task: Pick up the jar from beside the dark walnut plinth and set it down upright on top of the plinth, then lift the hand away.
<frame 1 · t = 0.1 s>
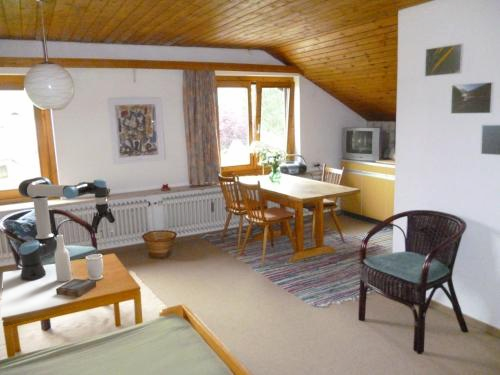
hand: (104, 235, 282), 28 cm above the table, tool pointing down, fingers open, 13 cm apart
jar: (96, 278, 282), on the table
plinth: (76, 290, 263), on the table
alcohol: (64, 279, 281), on the table
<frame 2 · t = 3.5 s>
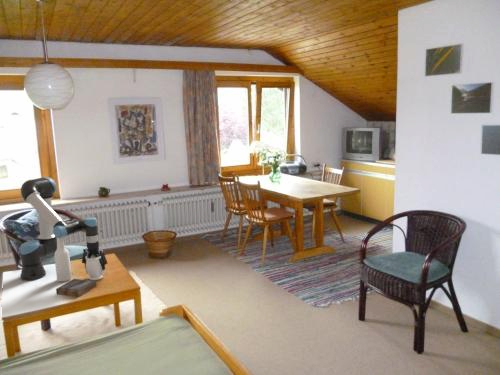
hand: (95, 273, 282), 3 cm above the table, tool pointing down, fingers closed on jar, 10 cm apart
jar: (96, 278, 282), on the table, touching gripper
everything else where it was.
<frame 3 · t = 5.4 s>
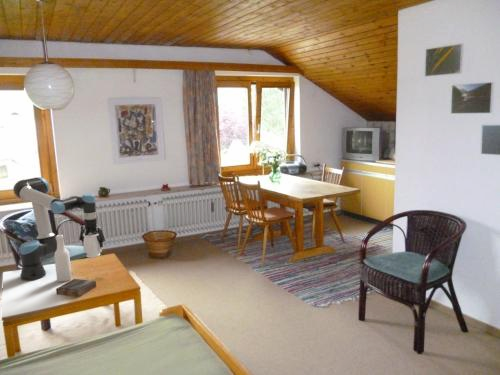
hand: (93, 251, 279), 18 cm above the table, tool pointing down, fingers closed on jar, 10 cm apart
jar: (93, 256, 280), point 15 cm above the table, touching gripper
everything else where it was.
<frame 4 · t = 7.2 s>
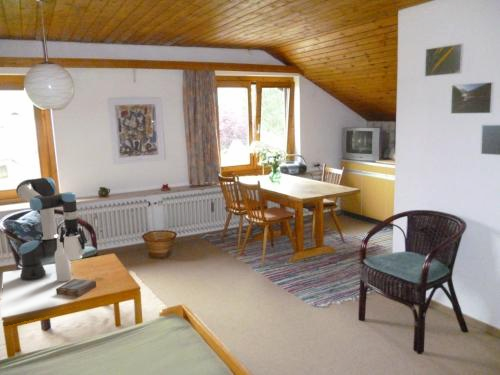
hand: (74, 253, 260), 23 cm above the table, tool pointing down, fingers closed on jar, 10 cm apart
jar: (75, 258, 261), point 20 cm above the table, touching gripper
everything else where it was.
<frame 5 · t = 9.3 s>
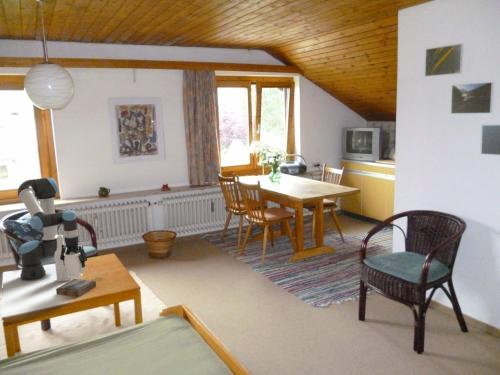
hand: (74, 271, 261), 12 cm above the table, tool pointing down, fingers closed on jar, 10 cm apart
jar: (75, 276, 261), point 9 cm above the table, touching gripper
everything else where it was.
when the fingers open (8 cm above the table, at t = 11.1 s): jar drops 1 cm, resting on plinth.
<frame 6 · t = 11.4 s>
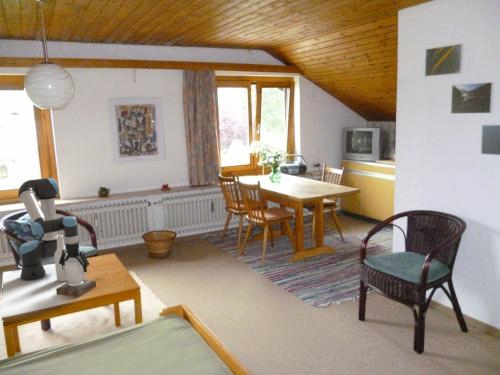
hand: (75, 276, 261), 9 cm above the table, tool pointing down, fingers open, 13 cm apart
jar: (76, 284, 263), point 4 cm above the table, touching plinth
everything else where it was.
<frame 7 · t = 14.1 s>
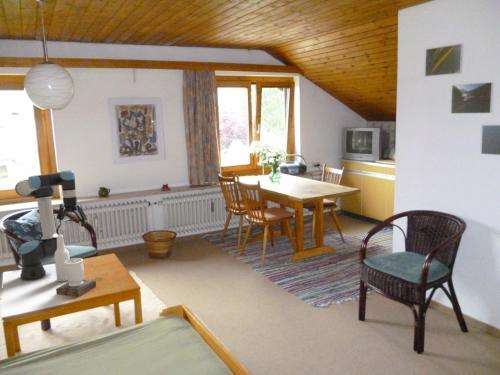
hand: (72, 230, 262), 36 cm above the table, tool pointing down, fingers open, 13 cm apart
nothing on the table moved.
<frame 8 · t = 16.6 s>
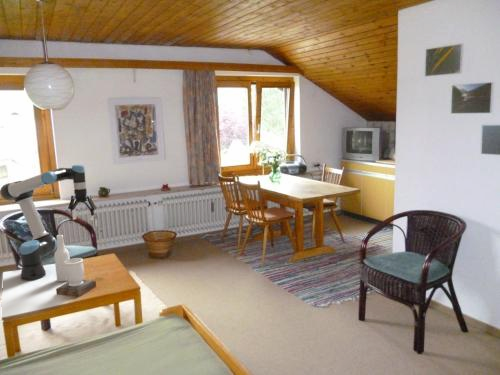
hand: (83, 219, 287), 37 cm above the table, tool pointing down, fingers open, 13 cm apart
nothing on the table moved.
at the end: jar inside the target area on the plinth (0.1 cm from its centre), point 3.8 cm above the plinth's base; jar tilted 0°; the gripper is holding nothing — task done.
